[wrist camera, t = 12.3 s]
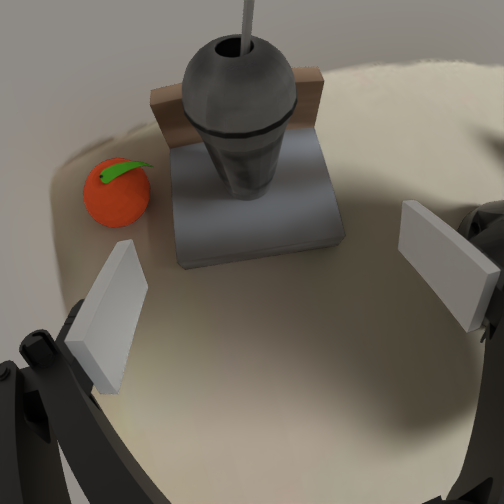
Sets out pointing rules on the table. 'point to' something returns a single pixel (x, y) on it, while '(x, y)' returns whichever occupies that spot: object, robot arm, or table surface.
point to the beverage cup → (240, 107)
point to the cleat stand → (255, 211)
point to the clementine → (117, 192)
